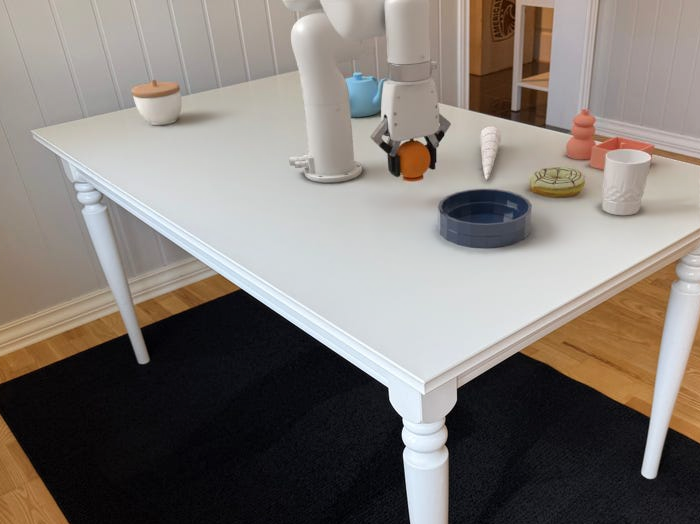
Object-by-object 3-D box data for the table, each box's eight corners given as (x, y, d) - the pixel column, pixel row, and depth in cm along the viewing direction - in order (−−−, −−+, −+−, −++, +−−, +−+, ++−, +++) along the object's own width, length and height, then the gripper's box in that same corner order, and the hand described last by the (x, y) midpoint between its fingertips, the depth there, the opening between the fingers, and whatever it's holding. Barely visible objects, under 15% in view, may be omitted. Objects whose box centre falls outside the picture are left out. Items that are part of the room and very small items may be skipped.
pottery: (651, 164, 147) (659, 117, 141) (626, 175, 141) (634, 127, 136) (580, 147, 158) (585, 103, 152) (555, 157, 153) (559, 112, 147)
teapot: (383, 103, 196) (381, 65, 190) (390, 117, 184) (388, 77, 178) (332, 107, 194) (329, 69, 189) (336, 122, 182) (332, 81, 176)
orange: (397, 185, 127) (395, 145, 123) (393, 173, 133) (391, 135, 129) (433, 182, 128) (432, 143, 123) (428, 170, 133) (427, 132, 129)
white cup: (635, 220, 123) (644, 166, 118) (592, 212, 127) (599, 159, 121) (647, 205, 129) (656, 152, 123) (606, 198, 132) (613, 146, 126)
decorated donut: (533, 180, 142) (534, 162, 140) (586, 184, 139) (588, 165, 137) (524, 198, 134) (525, 179, 131) (580, 203, 131) (582, 184, 128)
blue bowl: (446, 254, 115) (446, 228, 112) (432, 216, 128) (432, 192, 125) (540, 247, 116) (542, 220, 113) (517, 210, 129) (518, 185, 126)
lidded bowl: (196, 118, 191) (187, 76, 184) (161, 130, 182) (150, 87, 176) (165, 113, 196) (155, 72, 190) (129, 124, 188) (118, 82, 181)
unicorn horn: (468, 181, 142) (468, 158, 140) (480, 145, 161) (481, 125, 159) (491, 182, 141) (492, 159, 139) (500, 146, 160) (501, 125, 158)
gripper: (442, 61, 125) (443, 157, 135) (355, 74, 119) (363, 174, 129) (462, 68, 120) (462, 168, 130) (372, 82, 114) (379, 186, 124)
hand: (412, 170), depth 129 cm, fingers closed on orange, 6 cm apart
